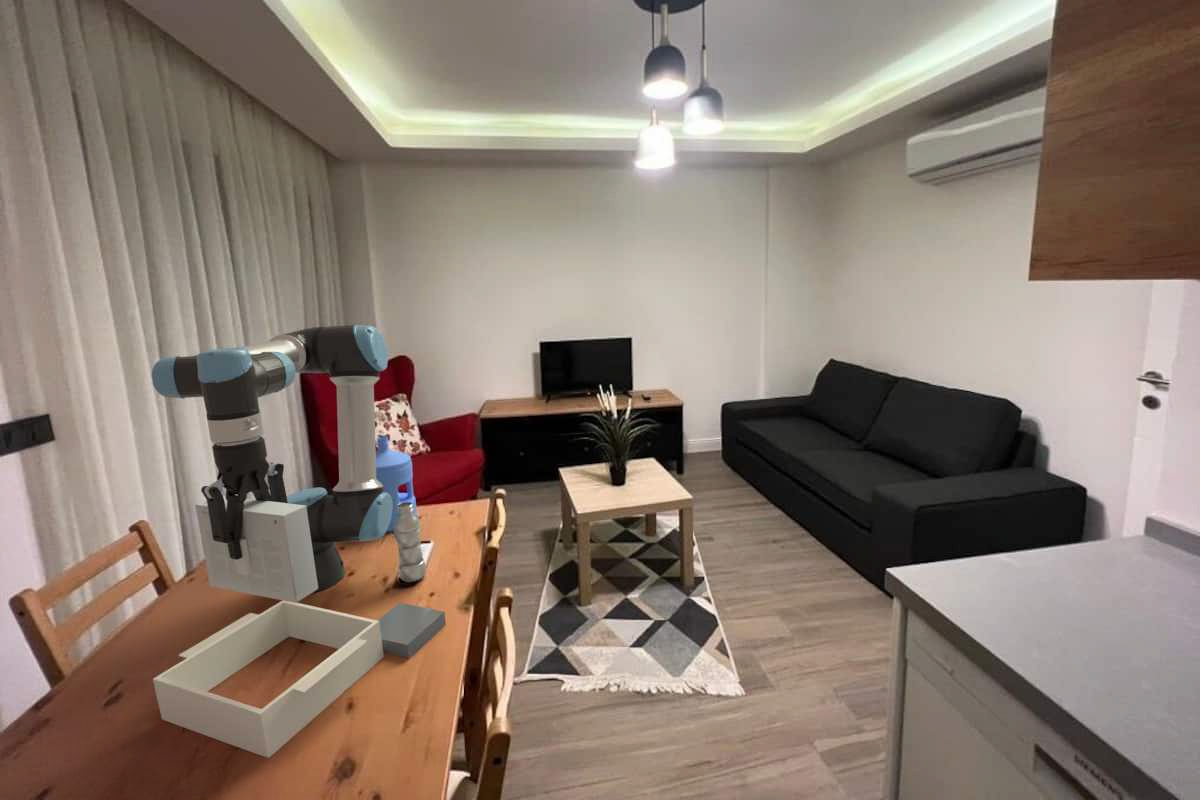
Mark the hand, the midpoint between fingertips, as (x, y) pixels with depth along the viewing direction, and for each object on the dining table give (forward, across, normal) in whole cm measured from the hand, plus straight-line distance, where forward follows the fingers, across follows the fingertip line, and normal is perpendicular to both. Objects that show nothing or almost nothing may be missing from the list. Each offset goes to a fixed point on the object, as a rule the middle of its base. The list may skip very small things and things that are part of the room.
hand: (260, 565), depth 99 cm
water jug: (+25, +67, +32) cm, 78 cm away
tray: (+24, 0, 0) cm, 24 cm away
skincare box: (+5, 0, 0) cm, 5 cm away
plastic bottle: (+25, +40, +2) cm, 47 cm away
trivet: (+25, +20, -12) cm, 34 cm away
